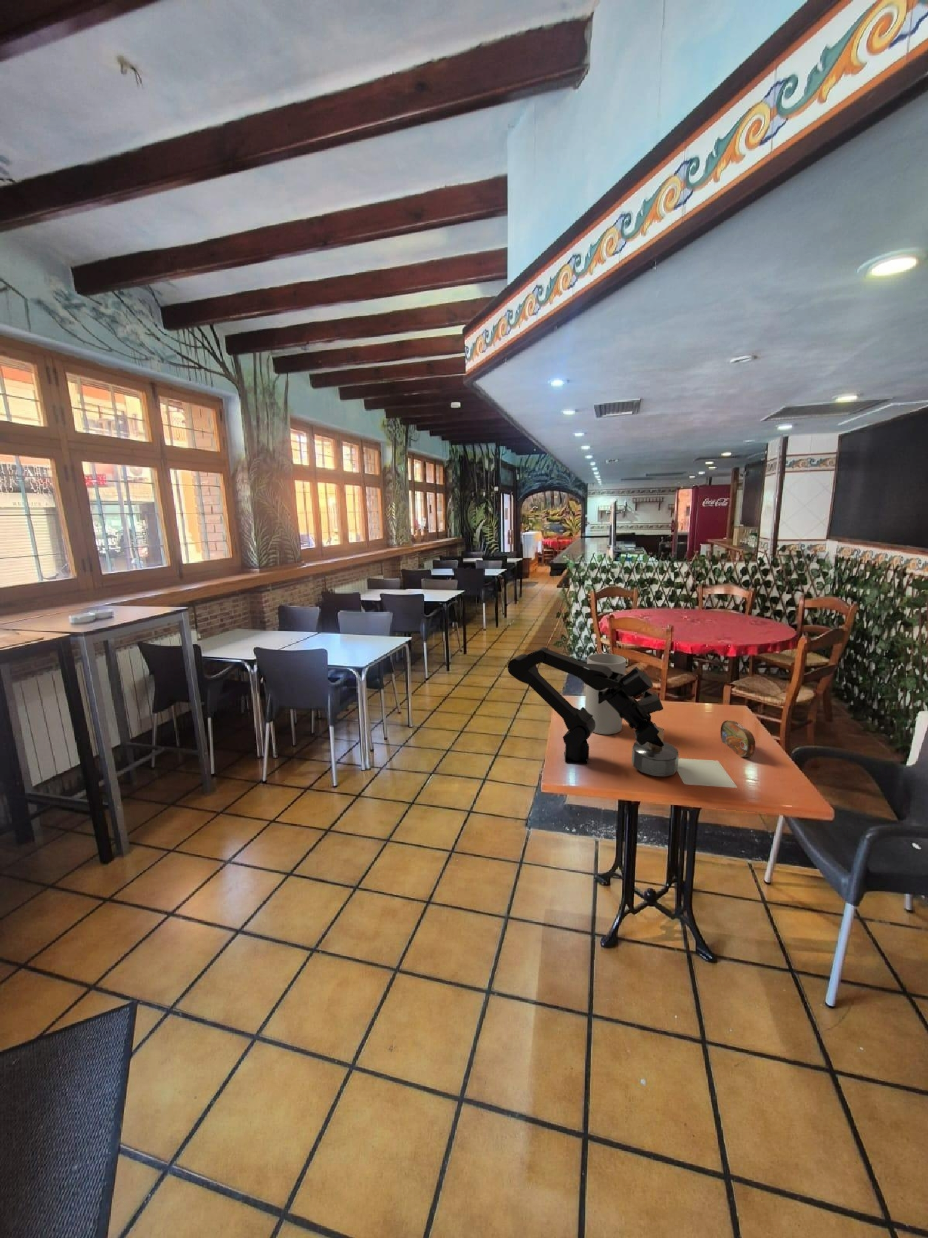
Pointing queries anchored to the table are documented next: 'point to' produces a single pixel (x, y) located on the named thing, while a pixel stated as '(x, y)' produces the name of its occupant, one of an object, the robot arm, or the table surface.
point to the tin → (738, 738)
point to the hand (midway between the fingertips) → (661, 742)
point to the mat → (703, 773)
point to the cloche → (655, 757)
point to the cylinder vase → (604, 712)
